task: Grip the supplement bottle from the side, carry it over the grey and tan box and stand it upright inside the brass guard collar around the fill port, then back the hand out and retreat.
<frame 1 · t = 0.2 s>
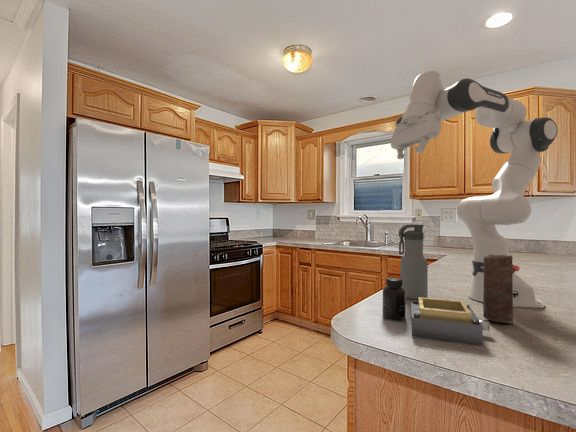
hand: (409, 155, 103), 52 cm above the counter, tool tilted 15°, fingers open, 8 cm apart
grey and tan box: (442, 329, 86), on the counter
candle: (497, 322, 92), on the counter
supplement bottle: (393, 318, 96), on the counter
water bottle: (413, 297, 120), on the counter
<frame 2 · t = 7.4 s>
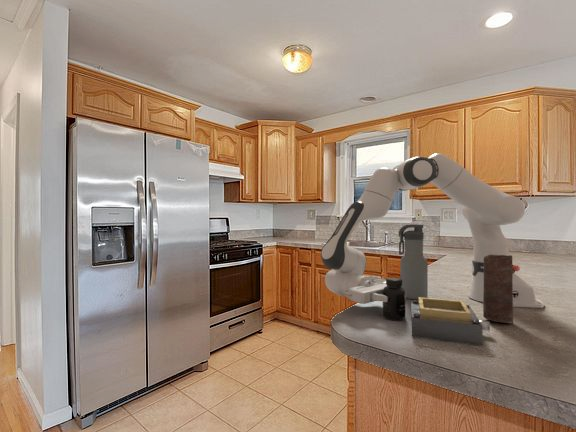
hand: (396, 297, 95), 7 cm above the counter, tool horizontal, fingers closed on supplement bottle, 7 cm apart
supplement bottle: (393, 318, 96), on the counter, touching gripper
everything else where it was.
when the fingers open (13 cm above the counter, at t = 12.0 s): supplement bottle stays where it is, resting on grey and tan box.
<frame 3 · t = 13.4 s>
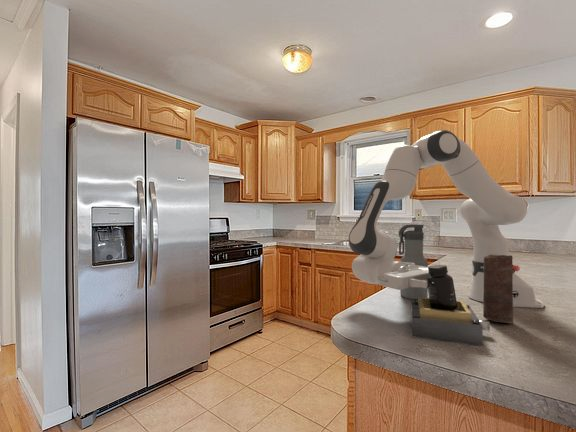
hand: (437, 282, 87), 13 cm above the counter, tool horizontal, fingers open, 8 cm apart
supplement bottle: (444, 309, 87), point 5 cm above the counter, touching grey and tan box, gripper
everything else where it was.
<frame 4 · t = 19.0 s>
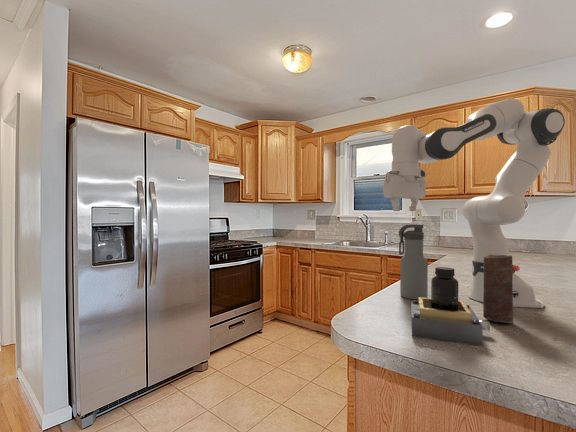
hand: (404, 211, 110), 33 cm above the counter, tool pointing down, fingers open, 8 cm apart
supplement bottle: (444, 311, 87), point 5 cm above the counter, touching grey and tan box
everything else where it was.
at the end: supplement bottle 1.3 cm off-centre on the grey and tan box, point 4.8 cm above the grey and tan box's base; supplement bottle tilted 0°; the gripper is holding nothing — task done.
